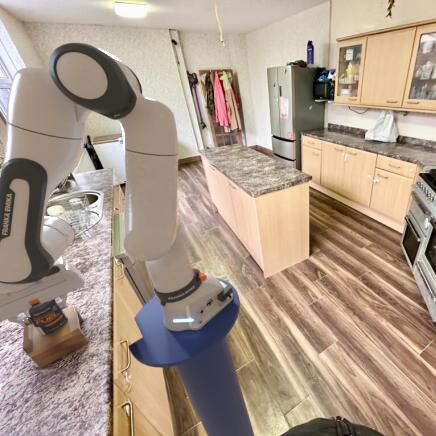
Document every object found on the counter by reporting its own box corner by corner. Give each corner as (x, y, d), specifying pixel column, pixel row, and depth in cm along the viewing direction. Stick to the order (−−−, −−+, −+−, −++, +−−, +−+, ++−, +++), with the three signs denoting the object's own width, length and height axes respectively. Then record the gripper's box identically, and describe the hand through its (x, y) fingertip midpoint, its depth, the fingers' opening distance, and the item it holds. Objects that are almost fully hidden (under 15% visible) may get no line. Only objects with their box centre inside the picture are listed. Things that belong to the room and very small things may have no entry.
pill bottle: (44, 339, 61) (18, 308, 56) (37, 329, 64) (12, 299, 59) (72, 322, 65) (51, 292, 60) (64, 314, 68) (43, 284, 63)
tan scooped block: (83, 318, 74) (70, 300, 70) (88, 342, 66) (75, 323, 62) (40, 339, 68) (24, 321, 64) (40, 368, 60) (22, 349, 56)
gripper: (-56, 308, 48) (-13, 350, 54) (71, 261, 60) (94, 300, 67) (-49, 293, 52) (-9, 334, 58) (69, 252, 65) (91, 289, 71)
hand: (47, 315), depth 63 cm, fingers closed on pill bottle, 6 cm apart
